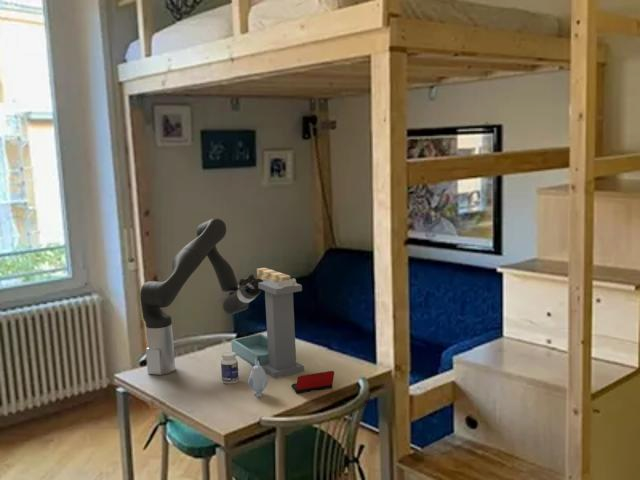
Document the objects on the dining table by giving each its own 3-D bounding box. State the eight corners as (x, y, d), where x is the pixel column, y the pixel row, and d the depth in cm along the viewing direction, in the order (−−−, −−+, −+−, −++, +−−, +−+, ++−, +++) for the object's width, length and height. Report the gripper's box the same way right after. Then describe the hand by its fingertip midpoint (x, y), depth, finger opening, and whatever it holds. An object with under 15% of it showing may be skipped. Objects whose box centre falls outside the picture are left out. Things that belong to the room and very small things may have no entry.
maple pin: (257, 277, 235) (256, 268, 235) (265, 276, 237) (265, 267, 237) (281, 286, 218) (281, 277, 218) (290, 285, 220) (290, 275, 219)
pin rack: (260, 369, 231) (255, 276, 226) (289, 362, 237) (285, 271, 232) (277, 381, 219) (272, 282, 214) (308, 373, 225) (304, 277, 220)
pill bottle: (235, 384, 217) (233, 356, 216) (219, 383, 219) (217, 355, 217) (240, 378, 223) (239, 350, 222) (225, 377, 224) (223, 350, 223)
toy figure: (244, 392, 210) (242, 356, 209) (262, 388, 213) (260, 353, 211) (255, 402, 201) (253, 366, 199) (273, 398, 203) (272, 362, 202)
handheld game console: (326, 381, 217) (325, 360, 216) (336, 392, 207) (335, 370, 206) (290, 386, 214) (289, 365, 213) (298, 398, 204) (297, 376, 203)
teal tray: (231, 352, 253) (231, 339, 252) (261, 345, 259) (261, 333, 258) (258, 369, 231) (257, 356, 230) (290, 362, 238) (289, 349, 237)
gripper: (229, 283, 245) (243, 268, 232) (263, 278, 252) (278, 263, 239) (234, 302, 243) (248, 287, 230) (268, 296, 250) (283, 281, 237)
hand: (263, 275), depth 234 cm, fingers open, 8 cm apart
